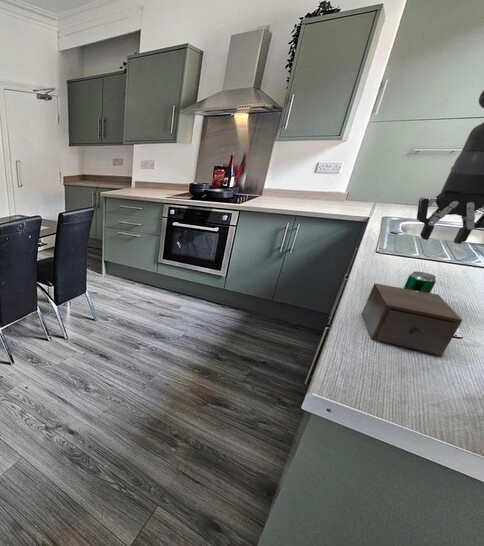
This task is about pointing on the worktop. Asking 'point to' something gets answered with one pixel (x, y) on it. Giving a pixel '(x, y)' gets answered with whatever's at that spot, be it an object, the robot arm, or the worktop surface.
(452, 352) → the worktop surface
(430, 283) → the soda can
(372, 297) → the cabinet
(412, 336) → the drawer
